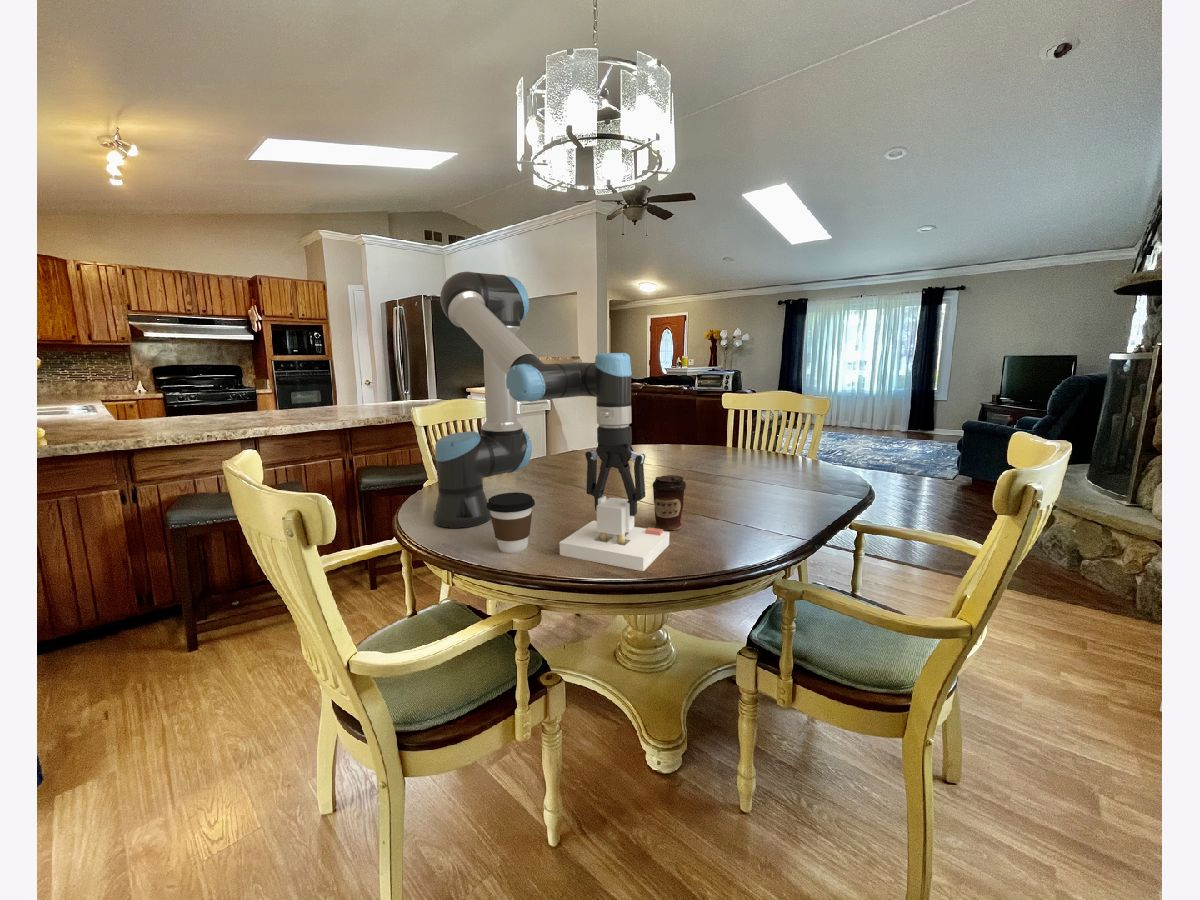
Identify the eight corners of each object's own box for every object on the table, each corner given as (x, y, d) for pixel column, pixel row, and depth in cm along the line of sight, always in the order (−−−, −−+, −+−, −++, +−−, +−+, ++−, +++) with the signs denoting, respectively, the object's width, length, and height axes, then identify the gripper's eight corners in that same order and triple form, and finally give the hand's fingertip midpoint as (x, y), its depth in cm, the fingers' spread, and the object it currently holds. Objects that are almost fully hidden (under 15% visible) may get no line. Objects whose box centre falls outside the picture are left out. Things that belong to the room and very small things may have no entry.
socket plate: (643, 571, 102) (643, 553, 101) (559, 555, 111) (559, 538, 110) (669, 544, 116) (669, 528, 115) (593, 531, 125) (593, 517, 124)
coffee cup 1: (495, 539, 121) (492, 491, 119) (540, 539, 121) (538, 491, 118) (483, 557, 110) (480, 505, 108) (532, 557, 110) (530, 505, 108)
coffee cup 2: (684, 534, 122) (685, 482, 120) (650, 532, 124) (650, 481, 121) (685, 522, 131) (686, 474, 128) (654, 520, 132) (654, 473, 130)
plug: (621, 547, 109) (621, 509, 107) (597, 543, 111) (596, 505, 110) (634, 537, 115) (634, 500, 113) (611, 533, 117) (610, 497, 116)
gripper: (567, 425, 109) (571, 526, 113) (648, 429, 100) (649, 538, 105) (584, 421, 115) (586, 516, 120) (661, 424, 107) (661, 527, 111)
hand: (615, 526), depth 112 cm, fingers closed on plug, 6 cm apart
